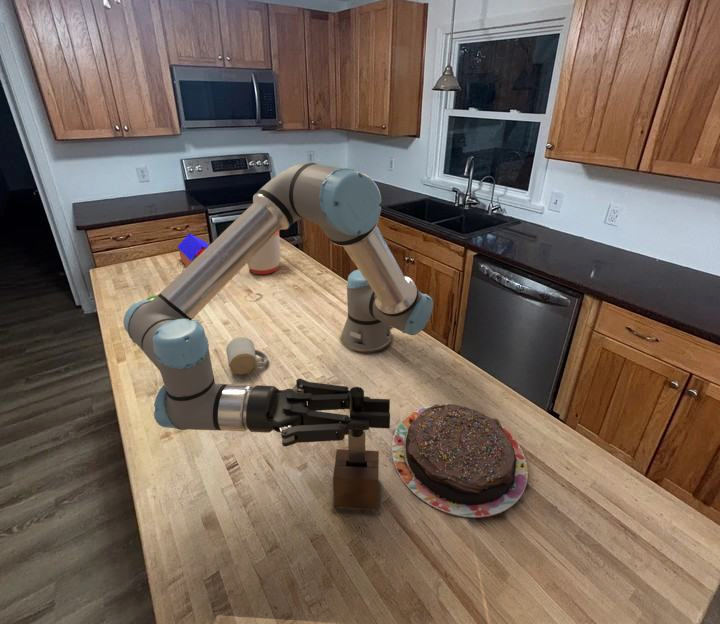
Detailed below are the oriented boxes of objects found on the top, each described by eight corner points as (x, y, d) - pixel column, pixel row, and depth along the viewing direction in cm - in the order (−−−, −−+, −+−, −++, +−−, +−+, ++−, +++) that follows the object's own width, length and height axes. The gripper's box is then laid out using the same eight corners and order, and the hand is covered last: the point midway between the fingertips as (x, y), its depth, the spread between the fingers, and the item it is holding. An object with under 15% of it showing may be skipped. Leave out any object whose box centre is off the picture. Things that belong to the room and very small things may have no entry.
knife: (348, 476, 70) (346, 396, 62) (349, 465, 73) (348, 386, 65) (364, 477, 70) (365, 397, 62) (365, 466, 72) (366, 386, 64)
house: (193, 275, 163) (188, 249, 158) (180, 260, 177) (175, 236, 172) (221, 268, 170) (217, 243, 165) (206, 254, 184) (202, 230, 179)
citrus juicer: (235, 270, 168) (229, 225, 160) (270, 259, 179) (266, 217, 170) (253, 281, 158) (247, 235, 149) (289, 269, 168) (286, 225, 160)
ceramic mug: (231, 379, 104) (227, 356, 101) (227, 361, 111) (224, 339, 108) (270, 370, 108) (268, 347, 105) (265, 353, 115) (263, 331, 112)
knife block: (334, 510, 72) (332, 477, 68) (337, 481, 77) (336, 448, 73) (377, 513, 71) (378, 479, 68) (377, 483, 77) (378, 450, 73)
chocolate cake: (388, 406, 96) (389, 385, 93) (503, 409, 95) (507, 388, 92) (394, 520, 70) (395, 495, 67) (550, 525, 69) (558, 501, 67)
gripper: (266, 393, 75) (388, 397, 74) (239, 462, 61) (389, 469, 60) (261, 361, 71) (389, 366, 70) (232, 427, 58) (391, 434, 56)
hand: (389, 413), depth 65 cm, fingers closed on knife, 2 cm apart
